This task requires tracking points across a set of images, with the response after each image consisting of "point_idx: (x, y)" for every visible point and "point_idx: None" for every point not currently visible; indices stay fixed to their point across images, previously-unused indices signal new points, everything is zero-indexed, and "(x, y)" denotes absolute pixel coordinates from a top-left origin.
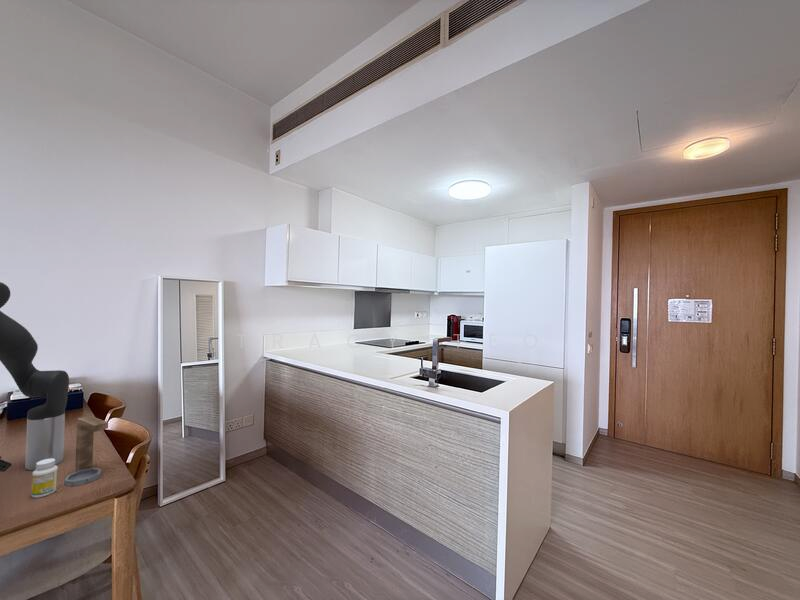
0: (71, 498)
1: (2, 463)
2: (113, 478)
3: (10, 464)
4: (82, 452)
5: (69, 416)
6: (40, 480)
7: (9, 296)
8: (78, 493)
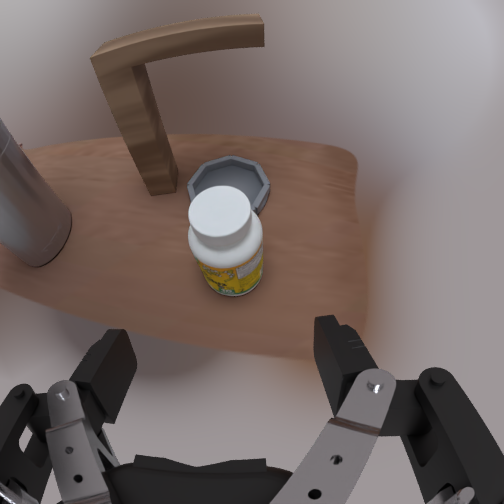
0: (338, 235)
1: (366, 353)
2: (292, 156)
3: (335, 319)
4: (160, 144)
5: None
6: (257, 259)
7: None
8: (319, 218)
